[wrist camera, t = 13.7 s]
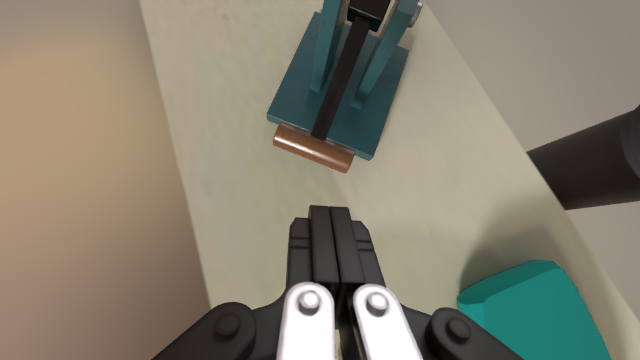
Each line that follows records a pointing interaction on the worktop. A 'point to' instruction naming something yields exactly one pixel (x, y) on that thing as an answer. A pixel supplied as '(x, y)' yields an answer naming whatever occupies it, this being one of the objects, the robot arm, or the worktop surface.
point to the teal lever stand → (364, 84)
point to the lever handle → (334, 94)
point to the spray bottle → (535, 313)
